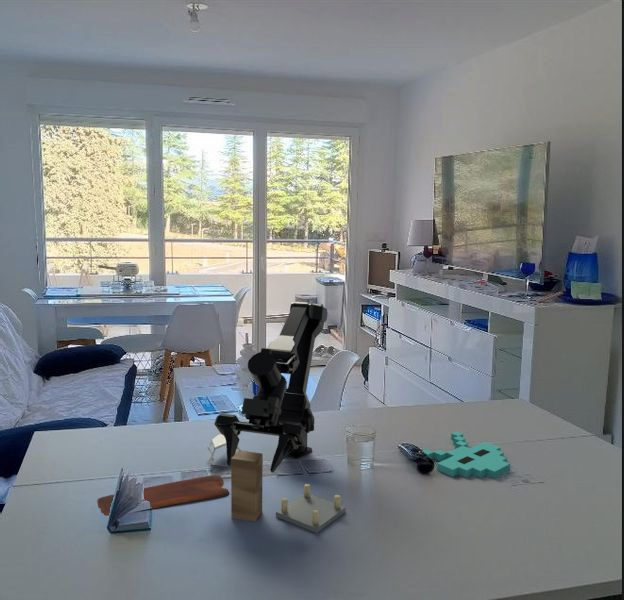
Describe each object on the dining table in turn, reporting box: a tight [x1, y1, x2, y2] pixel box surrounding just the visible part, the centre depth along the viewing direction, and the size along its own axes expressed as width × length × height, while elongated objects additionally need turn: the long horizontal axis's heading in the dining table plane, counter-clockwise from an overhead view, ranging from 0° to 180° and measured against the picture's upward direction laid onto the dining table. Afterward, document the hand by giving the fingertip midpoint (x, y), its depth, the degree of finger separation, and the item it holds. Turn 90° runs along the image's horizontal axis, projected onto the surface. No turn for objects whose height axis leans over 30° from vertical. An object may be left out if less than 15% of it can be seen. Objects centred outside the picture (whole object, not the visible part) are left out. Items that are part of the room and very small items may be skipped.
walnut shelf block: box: [230, 449, 264, 523], centre depth 120 cm, size 4×5×12 cm
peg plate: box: [275, 483, 346, 534], centre depth 121 cm, size 10×10×4 cm
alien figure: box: [422, 430, 511, 480], centre depth 148 cm, size 20×2×20 cm
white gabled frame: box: [207, 433, 241, 466], centre depth 147 cm, size 12×8×5 cm
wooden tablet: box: [97, 474, 230, 516], centre depth 128 cm, size 27×10×2 cm, turn 113°
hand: (249, 468), depth 121 cm, fingers open, 9 cm apart
